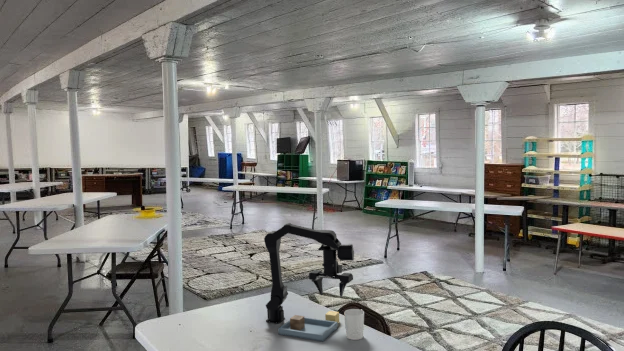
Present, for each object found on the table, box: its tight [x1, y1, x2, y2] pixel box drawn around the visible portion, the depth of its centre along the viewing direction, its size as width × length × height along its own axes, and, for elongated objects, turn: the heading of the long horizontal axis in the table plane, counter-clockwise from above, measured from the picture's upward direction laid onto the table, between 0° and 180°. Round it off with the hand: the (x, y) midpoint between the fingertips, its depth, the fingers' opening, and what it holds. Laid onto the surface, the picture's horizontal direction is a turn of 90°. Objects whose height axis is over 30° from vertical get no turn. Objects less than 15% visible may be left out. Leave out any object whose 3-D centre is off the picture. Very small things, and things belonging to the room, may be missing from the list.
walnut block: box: [289, 314, 305, 331], centre depth 196 cm, size 4×4×4 cm
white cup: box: [343, 308, 365, 341], centre depth 187 cm, size 8×8×10 cm
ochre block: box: [324, 310, 340, 325], centre depth 202 cm, size 4×4×4 cm
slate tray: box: [277, 316, 338, 343], centre depth 194 cm, size 20×15×2 cm
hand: (331, 296), depth 201 cm, fingers open, 9 cm apart
